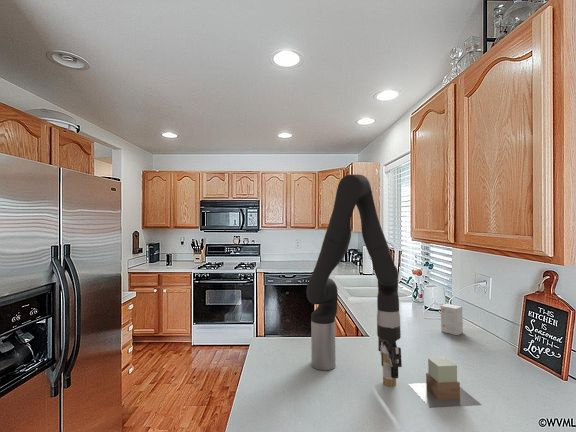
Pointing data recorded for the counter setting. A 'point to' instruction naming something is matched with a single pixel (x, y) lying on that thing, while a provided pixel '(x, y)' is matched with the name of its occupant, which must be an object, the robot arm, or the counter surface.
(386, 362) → the sprinkles bottle
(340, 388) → the counter surface
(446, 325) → the small box
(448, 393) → the walnut base block
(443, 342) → the counter surface
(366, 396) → the counter surface
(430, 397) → the slate board
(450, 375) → the sage top block
